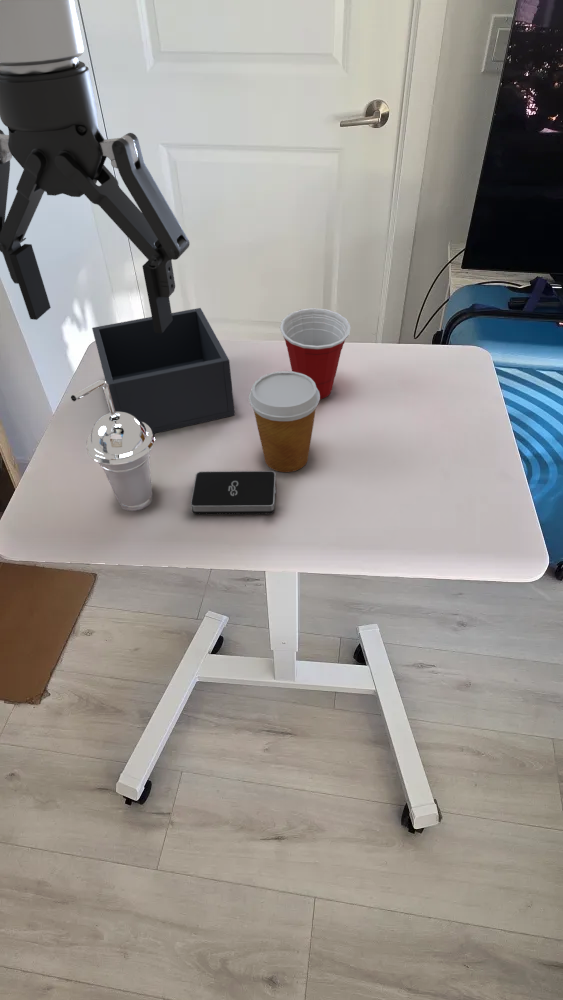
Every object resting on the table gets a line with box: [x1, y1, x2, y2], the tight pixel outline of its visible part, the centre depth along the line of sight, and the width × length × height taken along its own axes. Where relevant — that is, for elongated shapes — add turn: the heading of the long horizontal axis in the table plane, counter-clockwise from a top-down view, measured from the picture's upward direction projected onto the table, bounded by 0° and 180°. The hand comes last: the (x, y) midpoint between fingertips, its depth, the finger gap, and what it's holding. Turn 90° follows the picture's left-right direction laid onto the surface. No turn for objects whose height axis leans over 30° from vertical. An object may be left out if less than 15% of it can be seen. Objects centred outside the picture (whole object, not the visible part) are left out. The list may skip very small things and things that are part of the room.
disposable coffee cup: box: [248, 370, 321, 473], centre depth 87 cm, size 10×10×12 cm
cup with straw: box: [70, 379, 156, 512], centre depth 78 cm, size 8×9×20 cm
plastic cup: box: [279, 307, 352, 400], centre depth 99 cm, size 11×11×12 cm
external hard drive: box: [190, 470, 277, 516], centre depth 84 cm, size 7×11×2 cm, turn 89°
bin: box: [91, 307, 236, 434], centre depth 100 cm, size 18×18×10 cm
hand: (101, 320), depth 62 cm, fingers open, 13 cm apart
